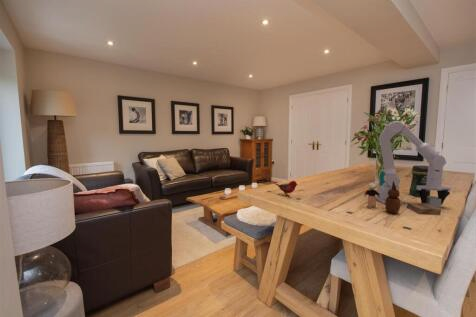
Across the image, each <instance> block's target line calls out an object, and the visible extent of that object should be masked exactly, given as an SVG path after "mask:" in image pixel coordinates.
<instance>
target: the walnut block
mask: <svg viewBox="0 0 476 317" xmlns="http://www.w3.org/2000/svg"><path fill="white" fill-rule="evenodd" d="M406 208H407V209H409V210H411V211H412V212H415V213H417V214H418V215H431V216H432V215H433V216H434V215H437V216H441V213H442V212H441V211H442V209H441V208H436V207H434V206H432V205H429V204H427V203H421V202H407V205H406Z"/></svg>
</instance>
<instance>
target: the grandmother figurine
mask: <svg viewBox="0 0 476 317" xmlns="http://www.w3.org/2000/svg"><path fill="white" fill-rule="evenodd" d="M376 188H377V185H376V183H374V182H371V183H368V189H369V190H366V191H365V192H364V194H363V198H366V197H367V205H366V208H368V209H377V199H376V198H377V196H378V198H380V195H379V193H378V192H377V189H376Z"/></svg>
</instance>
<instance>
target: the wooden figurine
mask: <svg viewBox="0 0 476 317" xmlns="http://www.w3.org/2000/svg"><path fill="white" fill-rule="evenodd" d="M400 194H401V193H400V189H399V190H396V187H395V182H394V181H393V183H392V189H389V190H388V196H389V197H387V198H386V202H385V203H384V205H385V210H386V212H387V213H390V214H398V213H399V210H400V208H401V204H400V202H401V200H400V198H399V197H400Z"/></svg>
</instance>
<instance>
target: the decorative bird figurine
mask: <svg viewBox="0 0 476 317" xmlns="http://www.w3.org/2000/svg"><path fill="white" fill-rule="evenodd" d="M273 184H275V186H277V187H278V188H279V189H280V191H282V192H283V193H284V194H283V195H285V196H287V197H291V195H290V194H291V193H293V192H294V191H295V189H296V187H297V186H298V184H297V181H296V180H291V181H289V182H288V183H282V184H278V183H275V182H273Z"/></svg>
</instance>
